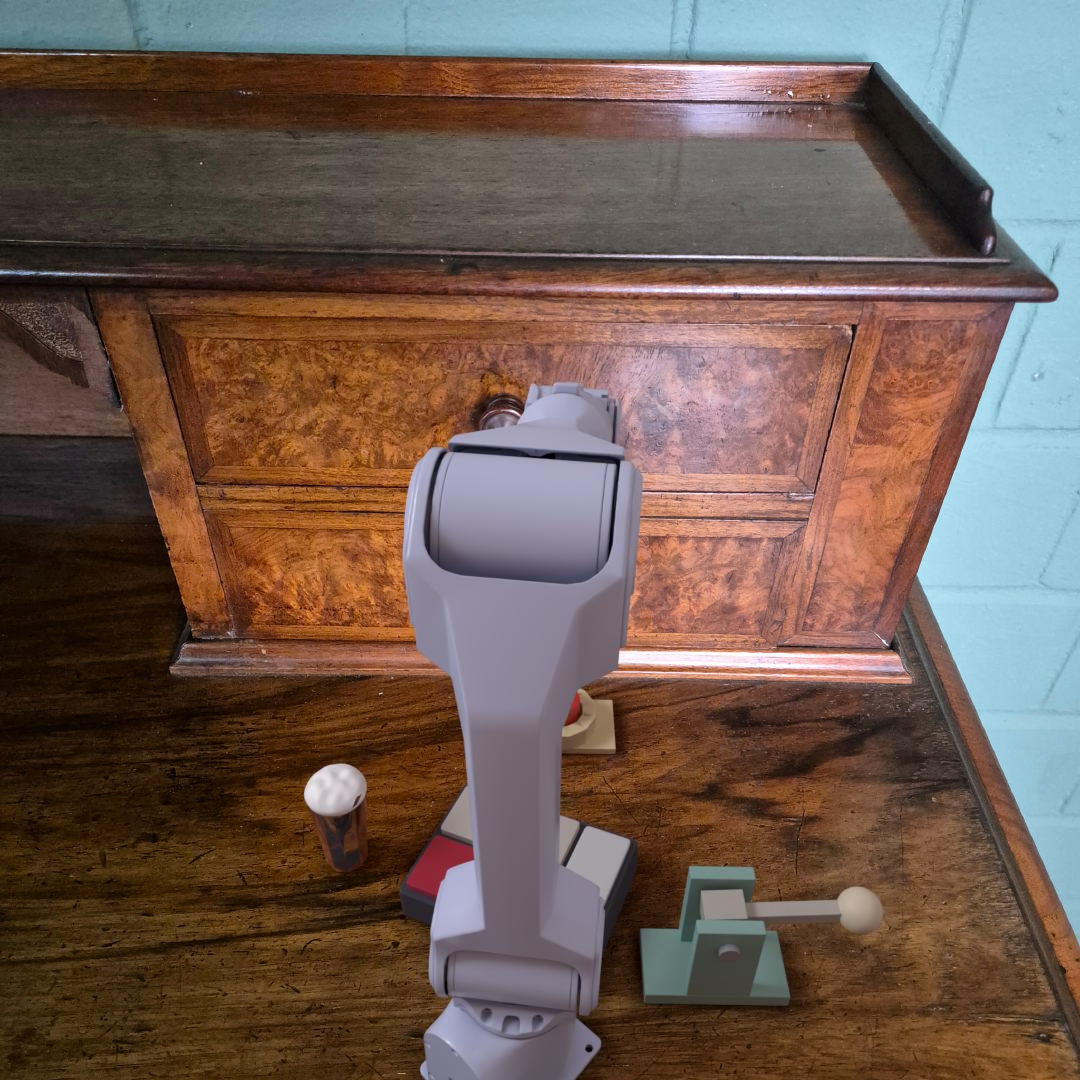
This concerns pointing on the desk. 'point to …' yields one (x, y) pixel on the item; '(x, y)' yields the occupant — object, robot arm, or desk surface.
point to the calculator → (579, 851)
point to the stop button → (573, 711)
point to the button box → (590, 728)
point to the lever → (797, 909)
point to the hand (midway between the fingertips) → (563, 669)
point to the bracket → (713, 951)
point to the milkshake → (339, 814)
